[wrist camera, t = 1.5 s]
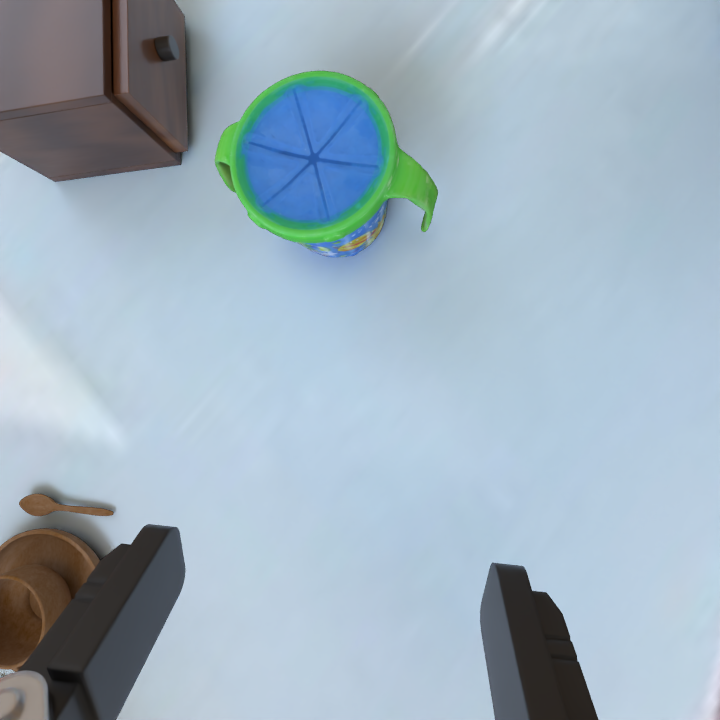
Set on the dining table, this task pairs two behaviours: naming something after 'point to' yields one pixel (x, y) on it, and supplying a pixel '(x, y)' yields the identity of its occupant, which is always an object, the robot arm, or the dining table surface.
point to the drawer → (151, 66)
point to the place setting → (39, 579)
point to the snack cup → (321, 163)
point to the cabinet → (67, 94)
